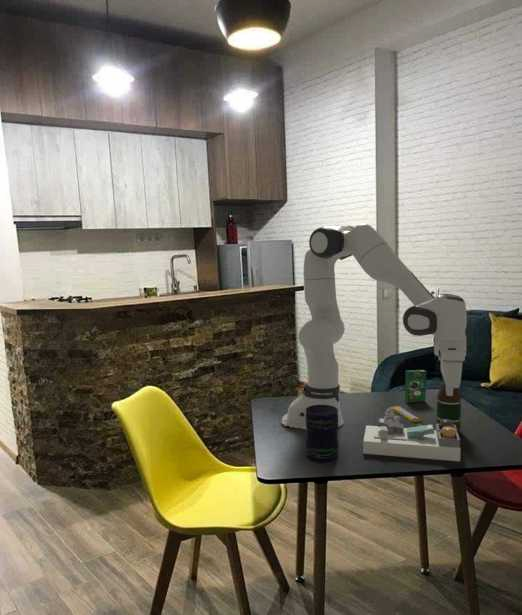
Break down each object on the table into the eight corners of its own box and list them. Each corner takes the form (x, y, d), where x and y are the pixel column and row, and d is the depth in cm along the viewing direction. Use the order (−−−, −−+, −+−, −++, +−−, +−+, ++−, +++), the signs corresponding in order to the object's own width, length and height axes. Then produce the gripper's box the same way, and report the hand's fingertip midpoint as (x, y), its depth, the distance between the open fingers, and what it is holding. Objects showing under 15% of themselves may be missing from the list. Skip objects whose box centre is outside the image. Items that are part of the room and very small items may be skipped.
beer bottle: (462, 435, 166) (464, 365, 164) (438, 434, 168) (439, 364, 165) (458, 427, 174) (459, 360, 171) (435, 426, 176) (436, 359, 173)
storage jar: (335, 449, 158) (335, 404, 156) (341, 463, 148) (341, 414, 146) (304, 451, 158) (303, 405, 156) (308, 464, 148) (307, 415, 146)
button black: (440, 430, 156) (440, 422, 155) (439, 426, 159) (440, 418, 159) (453, 431, 155) (453, 423, 154) (451, 427, 158) (452, 419, 158)
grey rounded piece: (379, 425, 178) (379, 404, 177) (396, 423, 179) (396, 402, 179) (386, 431, 173) (386, 408, 172) (403, 429, 174) (403, 406, 173)
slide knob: (380, 438, 154) (380, 429, 154) (380, 434, 157) (380, 426, 157) (386, 438, 154) (386, 430, 153) (386, 435, 157) (386, 426, 156)
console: (363, 453, 154) (363, 432, 154) (366, 436, 168) (366, 417, 167) (460, 461, 147) (460, 439, 146) (455, 443, 160) (455, 423, 159)
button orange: (442, 438, 149) (442, 430, 149) (441, 434, 152) (441, 426, 152) (455, 439, 148) (455, 431, 148) (454, 434, 151) (454, 427, 151)
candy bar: (423, 423, 180) (423, 418, 180) (413, 424, 179) (413, 419, 179) (399, 409, 197) (399, 404, 196) (390, 410, 196) (390, 405, 196)
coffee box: (423, 400, 206) (423, 369, 205) (426, 402, 203) (426, 370, 202) (404, 401, 205) (404, 370, 204) (407, 403, 202) (407, 371, 201)
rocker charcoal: (377, 426, 160) (378, 421, 160) (378, 422, 164) (379, 417, 164) (402, 433, 158) (403, 428, 158) (402, 428, 162) (403, 423, 162)
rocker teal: (407, 437, 155) (406, 432, 155) (407, 432, 159) (406, 427, 159) (434, 433, 153) (433, 428, 152) (433, 428, 157) (432, 423, 157)
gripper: (436, 342, 158) (435, 384, 160) (441, 355, 138) (440, 404, 140) (457, 342, 156) (456, 385, 158) (465, 356, 137) (464, 405, 138)
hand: (449, 394), depth 149 cm, fingers closed
